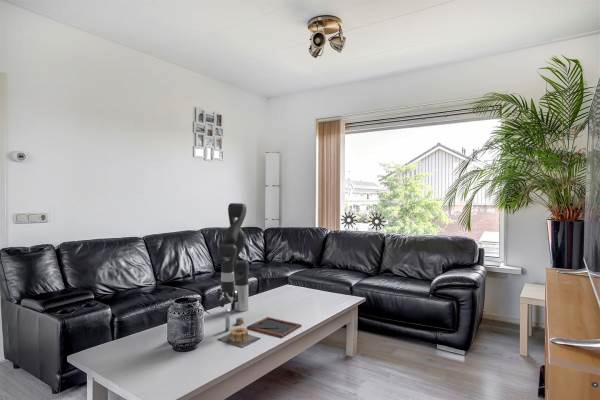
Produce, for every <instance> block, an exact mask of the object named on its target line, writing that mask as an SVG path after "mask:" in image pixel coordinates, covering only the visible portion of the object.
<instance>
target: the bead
mask: <svg viewBox="0 0 600 400" xmlns="http://www.w3.org/2000/svg"><path fill="white" fill-rule="evenodd" d="M244 323H245V322H244V317H237V318H236V319H235V325H236V326H242V324H243V325H244Z"/></svg>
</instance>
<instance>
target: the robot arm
mask: <svg viewBox="0 0 600 400" xmlns="http://www.w3.org/2000/svg"><path fill="white" fill-rule="evenodd" d="M227 207H228V208H227V215H228V220H229V221H228V222H229V227H228V228H227V230H226V232H225V236H224V239H223V240H222V242H221V243H220V244H219V247H218V250H217V253H218V255H219V257H221V258H229V260H226V261H225V260H224V261H222V262H221V269H220V270H221V271H220V287H219V288H217V299H218V300H219V306H220V308H224V307H225V299H228V300H229V301H230V311H233V310H234V311H236V312H246V311H249V271H250V263H249V261H248V260H238V259H239V255H240V254H241V252H242V251H243V249H244V248H245V245H246V235H245V232H244V231H243V230H242V228H241V227H242V225H243V223H244V221H245V219H246V215H247V205H246V204H245V203H239V202H238V203H237V202H236V203H235V202H234V203H233V202H231V203H229V204H228V206H227ZM235 275H243V276H241V277H239V278H237V279H235Z"/></svg>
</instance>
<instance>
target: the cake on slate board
mask: <svg viewBox="0 0 600 400" xmlns="http://www.w3.org/2000/svg"><path fill="white" fill-rule="evenodd" d="M217 340H218V341H220V342H223V343H226V344H230V345H233V346H235V347H238V348H242V349H243V348H245V347H247V346H249V345H251V344H253V343H255V342H257V341H259V340H261V337H257V336H256V335H252V334H249V329H247V328H246V327H236V328H233V329H231V330H230V331H229V333H228V334H225V335H224V336H221V337H219V338H217Z"/></svg>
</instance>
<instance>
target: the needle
mask: <svg viewBox="0 0 600 400" xmlns="http://www.w3.org/2000/svg"><path fill="white" fill-rule="evenodd" d="M224 311H225V312H224V313H225V318H224V319H225V321H224V322H225V329H224V331H225V332H230V331H231V330H230V329H231V325H230V323H231V322H230V320H231V319H230V315H231V308H225V310H224Z"/></svg>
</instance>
